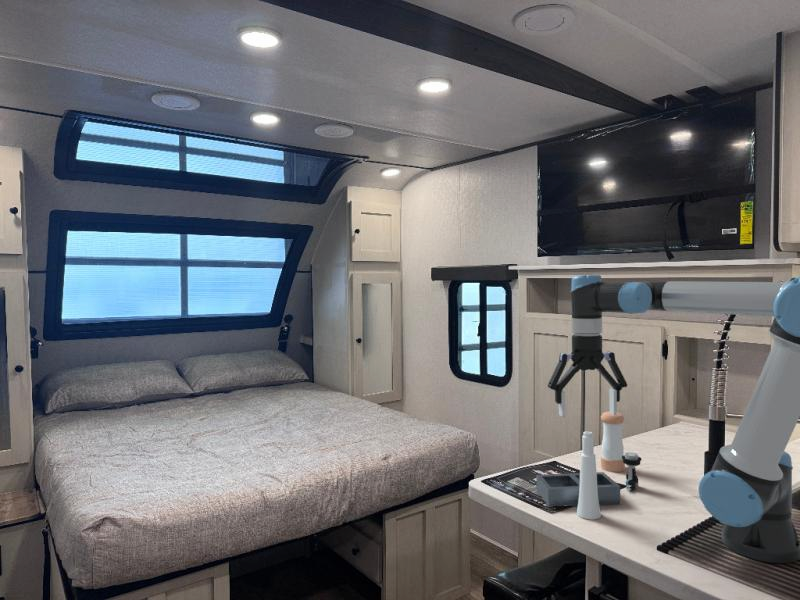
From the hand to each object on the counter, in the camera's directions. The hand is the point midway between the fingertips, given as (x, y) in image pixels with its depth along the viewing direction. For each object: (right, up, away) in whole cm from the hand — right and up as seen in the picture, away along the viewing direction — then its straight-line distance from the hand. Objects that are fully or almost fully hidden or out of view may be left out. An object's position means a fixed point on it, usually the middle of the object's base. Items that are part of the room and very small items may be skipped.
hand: (587, 415), depth 142 cm
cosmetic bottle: (+1, -27, +1) cm, 27 cm away
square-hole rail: (+1, -26, +12) cm, 29 cm away
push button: (+19, -26, +18) cm, 36 cm away
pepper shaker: (+20, -25, +35) cm, 47 cm away
